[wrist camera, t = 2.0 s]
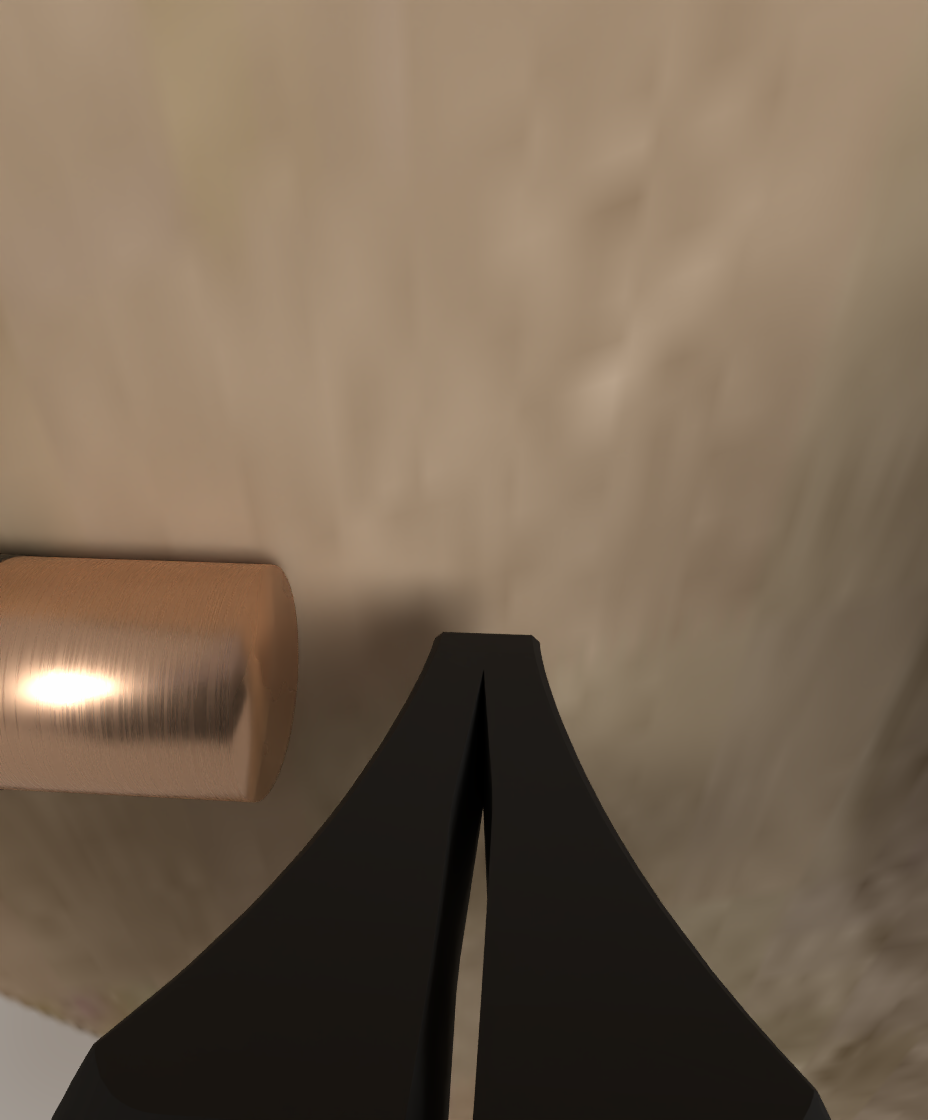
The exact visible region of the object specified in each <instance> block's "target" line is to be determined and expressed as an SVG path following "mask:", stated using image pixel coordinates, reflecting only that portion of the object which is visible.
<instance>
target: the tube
mask: <svg viewBox="0 0 928 1120" xmlns="http://www.w3.org/2000/svg"><path fill="white" fill-rule="evenodd" d="M297 680H298V630H297V619H296V611H295V605H294V600H293V595H292V592H291V588H290V585H289V582H288V580H287V578H286V576H285V574H284V572H283V571H282V570H281V569H280V568H279V567H278V566H276V565H269V564H240V563H210V562H180V561H150V560H121V559H91V558H61V557H32V556H27V555H10V554H0V790H4V789H9V790H28V791H47V792H67V793H86V794H105V795H125V796H144V797H163V798H183V799H202V800H221V801H240V802H258V801H261V800H262V799H264V798H265V797H266V796H267V794H268V793H269V792H270V790H271V789H272V787H273V785H274V783H275V781H276V779H277V777H278V775H279V772H280V770H281V767H282V764H283V761H284V758H285V754H286V751H287V747H288V743H289V738H290V734H291V728H292V723H293V717H294V710H295V702H296V692H297Z"/></svg>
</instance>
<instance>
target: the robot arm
mask: <svg viewBox="0 0 928 1120" xmlns="http://www.w3.org/2000/svg"><path fill="white" fill-rule="evenodd" d="M482 811H483V812H484V835H485V858H486V880H487V914H486V931H485V947H484V963H483V978H482V994H481V1010H480V1025H479V1039H478V1054H477V1069H476V1084H475V1098H474V1112H473V1120H831V1119H830V1117H829V1114H828V1112H827V1110H826V1108H825V1106H824V1104H823V1102H822V1100H821V1098H820V1096H819V1094H818V1092H817V1090H816V1089H815V1088H814V1087H813V1086H812V1085H811V1083H810V1082H809V1081H808V1080H807V1079H806V1078H805V1077H804V1076H803V1075H802V1074H801V1073H800V1072H799V1070H798V1069H797V1068H796V1067H795V1066H794V1065H793V1064H792V1063H791V1062H790V1061H789V1060H788V1059H787V1057H786V1056H785V1055H784V1054H783V1053H782V1052H781V1051H780V1050H779V1049H778V1048H777V1047H776V1045H775V1044H774V1043H773V1042H772V1041H771V1040H770V1039H769V1037H768V1036H767V1035H766V1034H765V1033H764V1032H763V1031H762V1030H761V1028H760V1027H759V1026H758V1025H757V1024H756V1023H755V1022H754V1020H753V1019H752V1018H751V1017H750V1016H749V1015H748V1014H747V1012H746V1011H745V1010H744V1009H743V1008H742V1006H741V1005H740V1004H739V1003H738V1001H737V1000H736V999H735V998H734V997H733V995H732V994H731V993H730V992H729V991H728V989H727V988H726V987H725V986H724V985H723V983H722V982H721V981H720V980H719V979H718V977H717V976H716V975H715V974H714V972H713V971H712V970H711V969H710V967H709V966H708V965H707V963H706V962H705V961H704V959H703V958H702V957H701V955H700V954H699V953H698V951H697V950H696V949H695V947H694V946H693V945H692V943H691V942H690V941H689V939H688V938H687V937H686V935H685V934H684V933H683V931H682V930H681V929H680V927H679V926H678V925H677V923H676V922H675V920H674V919H673V918H672V916H671V915H670V914H669V912H668V911H667V910H666V908H665V907H664V906H663V904H662V903H661V901H660V900H659V898H658V897H657V895H656V894H655V892H654V891H653V889H652V888H651V886H650V885H649V883H648V882H647V880H646V879H645V877H644V876H643V874H642V873H641V871H640V870H639V868H638V867H637V865H636V863H635V862H634V860H633V859H632V857H631V855H630V854H629V852H628V850H627V849H626V847H625V846H624V844H623V842H622V841H621V839H620V837H619V836H618V834H617V832H616V830H615V829H614V827H613V825H612V823H611V822H610V820H609V818H608V816H607V814H606V813H605V811H604V809H603V807H602V805H601V803H600V801H599V799H598V798H597V796H596V794H595V792H594V790H593V788H592V786H591V784H590V782H589V780H588V778H587V776H586V774H585V772H584V770H583V768H582V766H581V764H580V761H579V759H578V757H577V755H576V753H575V750H574V748H573V746H572V743H571V741H570V739H569V736H568V734H567V732H566V729H565V727H564V725H563V722H562V720H561V717H560V715H559V712H558V709H557V707H556V704H555V701H554V698H553V695H552V692H551V689H550V686H549V683H548V680H547V676H546V673H545V669H544V665H543V661H542V656H541V651H540V642H539V641H538V640H537V639H535V638H534V637H533V636H532V635H512V634H483V633H454V632H443V633H441V634H440V635H439V636H438V637H436V638H435V640H434V643H433V646H432V649H431V652H430V654H429V656H428V659H427V661H426V663H425V666H424V668H423V670H422V672H421V674H420V676H419V678H418V680H417V682H416V684H415V686H414V688H413V690H412V692H411V693H410V695H409V697H408V699H407V701H406V703H405V705H404V706H403V708H402V710H401V711H400V713H399V715H398V716H397V718H396V720H395V721H394V723H393V725H392V727H391V728H390V730H389V732H388V733H387V735H386V737H385V738H384V740H383V742H382V743H381V745H380V746H379V748H378V749H377V751H376V752H375V754H374V755H373V757H372V758H371V760H370V761H369V763H368V764H367V765H366V767H365V768H364V770H363V771H362V773H361V774H360V776H359V777H358V779H357V780H356V782H355V783H354V784H353V786H352V787H351V789H350V790H349V792H348V793H347V794H346V796H345V797H344V798H343V800H342V801H341V802H340V804H339V805H338V806H337V808H336V809H335V810H334V812H333V813H332V814H331V815H330V817H329V818H328V819H327V820H326V822H325V823H324V824H323V825H322V827H321V828H320V829H319V830H318V832H317V833H316V834H315V835H314V836H313V838H312V839H311V840H310V841H309V842H308V844H307V845H306V846H305V847H304V848H303V850H302V851H301V852H300V853H299V854H298V855H297V856H296V857H295V859H294V860H293V861H292V862H291V863H290V864H289V865H288V866H287V867H286V869H285V870H284V871H283V872H282V873H281V874H280V875H279V876H278V877H277V879H276V880H275V881H274V882H273V883H272V884H271V885H270V886H269V887H268V888H267V889H266V891H265V892H264V893H263V894H262V895H261V896H260V897H259V898H258V899H257V900H256V901H255V902H254V903H253V904H252V905H251V906H250V907H249V908H248V909H247V910H246V911H245V912H244V913H243V914H242V915H241V916H240V917H239V918H238V919H237V920H236V921H235V922H234V923H232V924H231V925H230V926H229V927H228V928H227V929H226V930H225V931H224V932H223V933H222V934H221V935H220V936H219V937H218V938H217V939H216V940H215V941H213V942H212V943H211V944H210V945H209V946H208V947H207V948H206V949H205V950H204V951H203V952H202V953H201V954H200V955H199V956H198V957H197V958H195V959H194V960H193V961H192V962H191V963H190V964H189V965H188V966H187V967H186V968H185V969H183V970H182V971H181V972H180V973H179V974H178V975H177V976H175V977H174V978H173V979H172V980H171V981H170V982H168V983H167V984H166V985H165V986H164V987H162V988H161V989H160V990H159V991H158V992H156V993H155V994H154V995H153V996H151V997H150V998H149V999H148V1000H147V1001H145V1002H144V1003H143V1004H142V1005H141V1006H139V1007H138V1008H137V1009H136V1010H134V1011H133V1012H132V1013H131V1014H130V1015H128V1016H127V1017H126V1018H125V1019H124V1020H122V1021H121V1022H120V1023H119V1024H117V1025H116V1026H115V1027H114V1028H113V1029H111V1030H110V1031H109V1032H108V1033H106V1034H105V1035H104V1036H103V1037H101V1038H100V1039H99V1040H98V1041H97V1042H95V1043H94V1044H93V1046H92V1048H91V1049H90V1051H89V1052H88V1054H87V1056H86V1057H85V1059H84V1061H83V1063H82V1064H81V1066H80V1068H79V1069H78V1071H77V1073H76V1075H75V1077H74V1078H73V1080H72V1082H71V1083H70V1085H69V1088H68V1089H67V1091H66V1093H65V1095H64V1097H63V1099H62V1101H61V1102H60V1104H59V1106H58V1108H57V1109H56V1111H55V1113H54V1115H53V1117H52V1120H448V1116H449V1099H450V1083H451V1067H452V1051H453V1036H454V1020H455V1005H456V990H457V981H458V972H459V964H460V955H461V949H462V942H463V936H464V929H465V923H466V916H467V910H468V903H469V897H470V890H471V884H472V877H473V871H474V864H475V858H476V851H477V844H478V838H479V831H480V825H481V818H482Z"/></svg>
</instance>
